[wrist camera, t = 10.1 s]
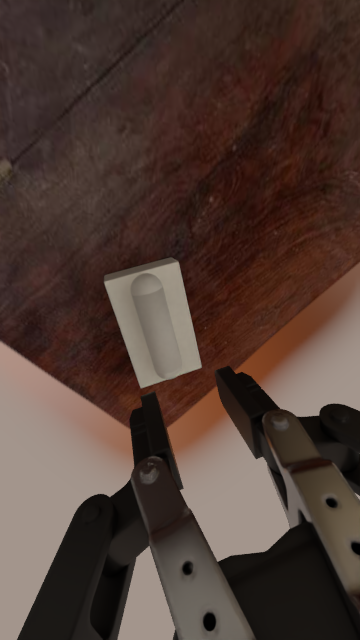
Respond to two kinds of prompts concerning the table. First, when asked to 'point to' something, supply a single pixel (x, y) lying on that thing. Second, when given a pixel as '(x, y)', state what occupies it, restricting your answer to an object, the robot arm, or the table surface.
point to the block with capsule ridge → (154, 320)
